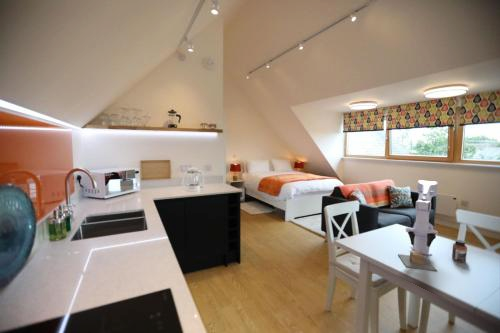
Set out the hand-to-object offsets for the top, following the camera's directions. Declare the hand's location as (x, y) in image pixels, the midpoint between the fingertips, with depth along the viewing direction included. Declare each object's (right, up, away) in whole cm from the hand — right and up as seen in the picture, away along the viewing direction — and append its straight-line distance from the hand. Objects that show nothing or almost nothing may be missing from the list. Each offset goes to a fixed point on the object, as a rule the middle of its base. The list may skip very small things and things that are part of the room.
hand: (420, 245), depth 131 cm
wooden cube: (-3, -9, 0) cm, 9 cm away
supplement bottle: (+23, -9, +2) cm, 25 cm away
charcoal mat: (-2, -10, 0) cm, 10 cm away
